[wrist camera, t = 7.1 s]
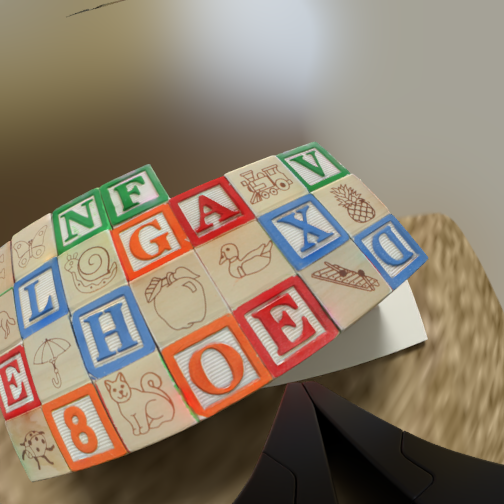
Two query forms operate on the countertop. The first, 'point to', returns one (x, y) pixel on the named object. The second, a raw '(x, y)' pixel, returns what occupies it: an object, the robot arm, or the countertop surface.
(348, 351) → the mat
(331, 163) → the stack of blocks
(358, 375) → the countertop surface
